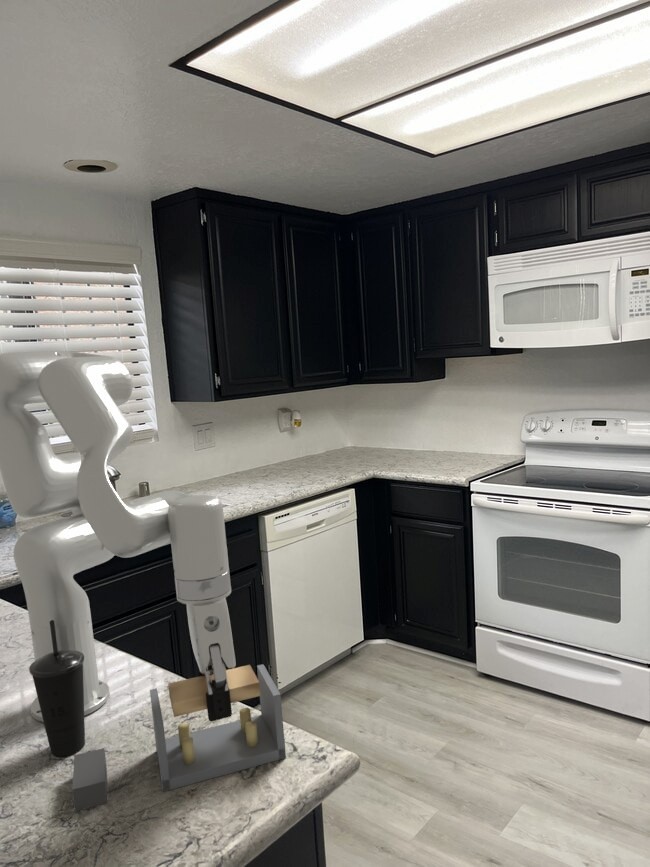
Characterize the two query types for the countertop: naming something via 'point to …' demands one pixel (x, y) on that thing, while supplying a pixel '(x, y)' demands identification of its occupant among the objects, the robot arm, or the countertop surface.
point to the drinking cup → (61, 697)
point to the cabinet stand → (221, 741)
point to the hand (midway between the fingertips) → (216, 705)
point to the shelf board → (193, 691)
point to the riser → (89, 779)
